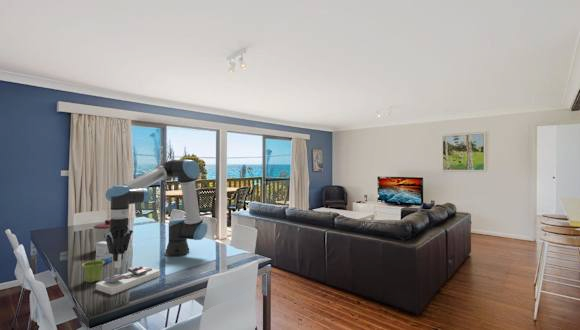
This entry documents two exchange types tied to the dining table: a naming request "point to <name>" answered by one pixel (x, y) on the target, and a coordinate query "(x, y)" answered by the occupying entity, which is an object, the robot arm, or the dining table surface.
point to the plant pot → (93, 270)
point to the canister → (101, 231)
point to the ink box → (103, 252)
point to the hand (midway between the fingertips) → (117, 267)
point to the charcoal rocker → (137, 270)
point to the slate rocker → (114, 278)
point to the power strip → (127, 281)
